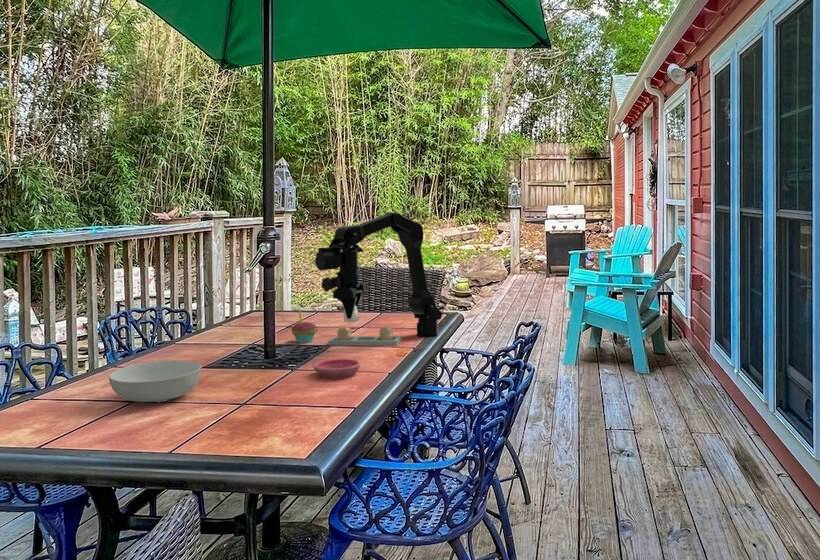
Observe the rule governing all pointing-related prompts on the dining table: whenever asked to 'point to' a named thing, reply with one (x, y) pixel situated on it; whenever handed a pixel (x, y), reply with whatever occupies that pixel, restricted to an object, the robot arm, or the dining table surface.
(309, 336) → the cupcake
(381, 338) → the brown egg
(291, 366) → the dining table surface
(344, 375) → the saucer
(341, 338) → the brown egg
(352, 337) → the egg carton
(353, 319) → the white egg
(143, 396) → the serving bowl
